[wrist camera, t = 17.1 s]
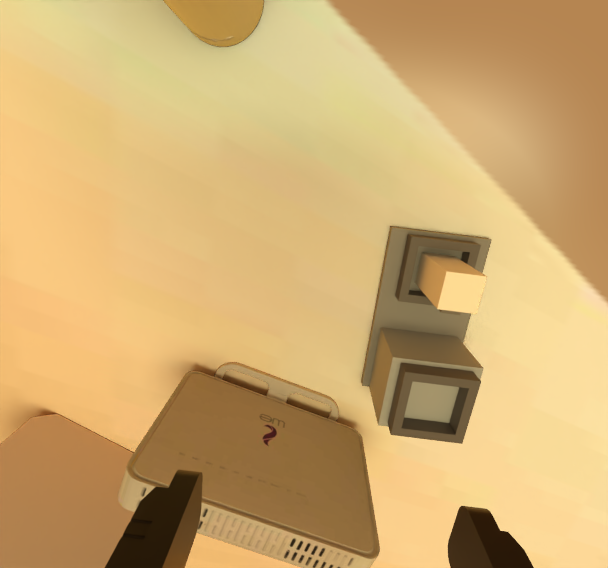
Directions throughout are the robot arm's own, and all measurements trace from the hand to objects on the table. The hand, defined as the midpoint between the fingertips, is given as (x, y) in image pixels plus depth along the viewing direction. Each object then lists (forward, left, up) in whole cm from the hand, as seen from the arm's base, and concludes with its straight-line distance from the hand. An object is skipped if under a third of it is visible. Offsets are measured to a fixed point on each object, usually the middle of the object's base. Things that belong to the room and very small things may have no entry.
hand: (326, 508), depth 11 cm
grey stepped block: (+6, +14, -36) cm, 39 cm away
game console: (+37, -27, -36) cm, 59 cm away
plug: (0, +14, -35) cm, 38 cm away
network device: (+23, -4, -36) cm, 43 cm away
